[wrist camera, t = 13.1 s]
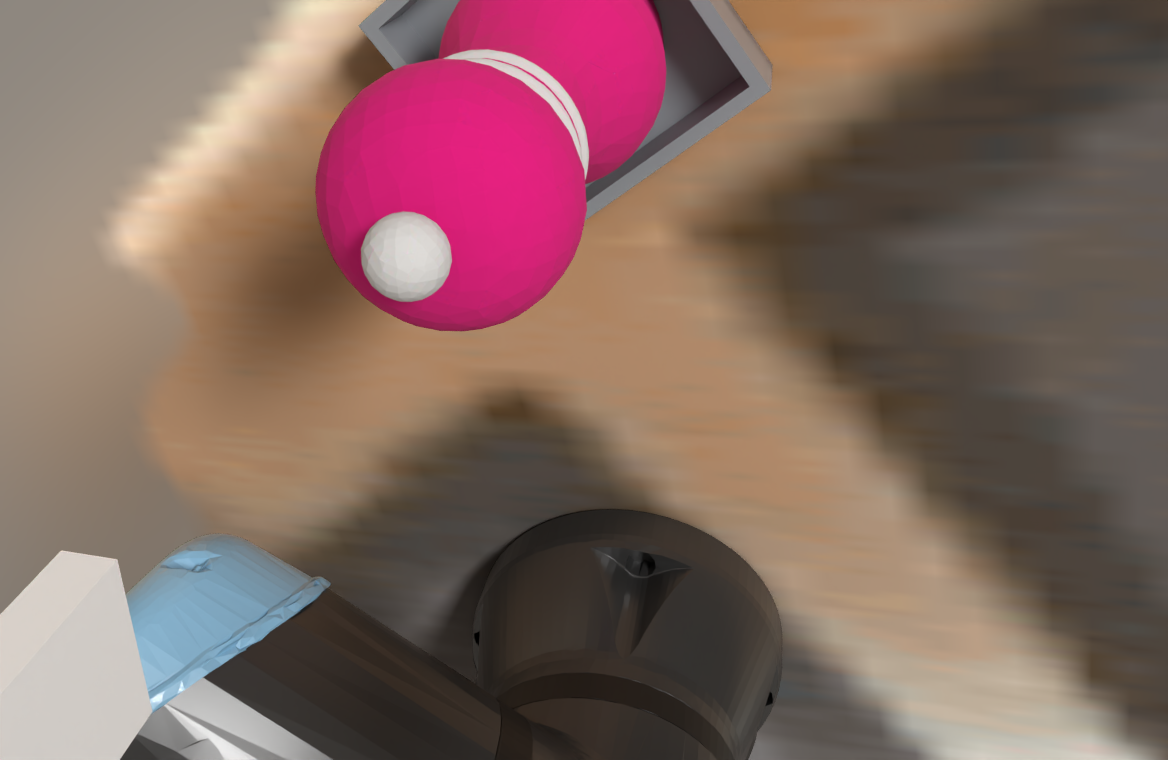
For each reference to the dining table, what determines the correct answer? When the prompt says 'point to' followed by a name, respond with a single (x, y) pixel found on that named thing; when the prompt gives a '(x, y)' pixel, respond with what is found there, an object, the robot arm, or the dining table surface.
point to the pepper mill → (487, 156)
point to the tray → (692, 90)
